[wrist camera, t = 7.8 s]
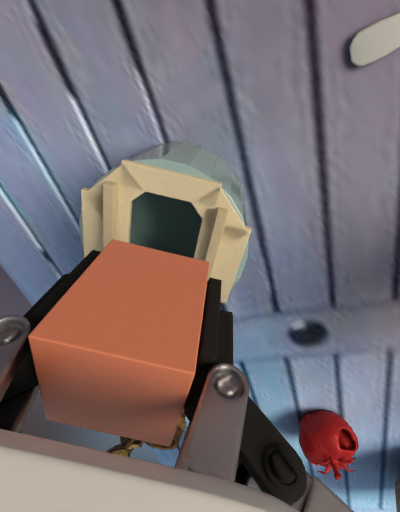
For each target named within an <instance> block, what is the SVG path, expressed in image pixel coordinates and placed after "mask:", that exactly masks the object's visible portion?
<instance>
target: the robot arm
mask: <svg viewBox="0 0 400 512" xmlns="http://www.w3.org/2000/svg"><path fill="white" fill-rule="evenodd" d="M100 253H101V251H97V250H92V251H91V252H90V253H89V254H88V255H87V256H86V257H85V258H84V259H83V260H82V261H81V262H80V263H79V264H78V265H77V266H76V267H75V269H74V270H73V271H72V272H71V273H70V274H65V275H63V276H62V277H61V278H60V279H59V280H58V281H57V282H56V283H55V284H54V285H53V286H52V287H51V288H50V289H49V290H48V291H47V292H46V293H45V294H44V295H43V296H42V298H41V299H40V300H39V301H38V302H37V303H36V304H35V305H34V306H33V307H32V308H31V309H30V310H29V311H28V312H27V313H26V314H25V315H24V316H23V317H22V316H17V315H9V316H4V317H0V512H354V511H353V510H352V509H350V508H349V507H348V506H347V505H346V504H345V503H344V502H343V501H342V500H341V499H340V498H339V497H338V496H337V495H335V494H334V493H333V492H332V491H331V490H330V489H329V488H328V487H327V486H326V485H325V484H324V483H323V482H321V481H320V480H319V479H318V478H317V477H315V478H312V477H311V476H310V475H309V474H308V473H307V472H306V470H305V467H304V465H303V463H302V460H301V458H300V457H299V456H298V454H297V453H296V451H295V450H294V449H293V448H292V447H291V445H290V444H289V443H288V442H287V441H286V440H285V438H284V437H283V436H282V435H281V434H280V432H279V431H278V430H277V429H276V428H275V427H274V425H273V424H272V423H271V422H270V421H269V420H268V418H267V417H266V416H265V415H264V414H263V413H262V411H261V410H260V409H259V408H258V407H257V405H256V404H255V403H254V402H253V401H252V400H251V398H250V397H249V396H248V395H249V384H248V381H247V378H246V377H245V375H244V374H243V372H241V371H240V370H239V369H238V368H237V367H235V366H233V314H232V312H228V311H224V310H220V303H221V284H222V280H219V279H215V278H211V277H210V278H209V280H207V288H206V295H205V303H204V311H203V318H202V326H201V333H200V341H199V348H198V356H197V363H196V371H195V376H194V379H193V381H192V384H191V387H190V390H189V393H188V396H187V399H186V402H185V405H184V414H185V415H186V417H187V418H188V420H189V421H190V423H189V425H188V428H187V431H186V434H185V437H184V440H183V443H182V446H181V449H180V452H179V455H178V458H177V461H176V464H175V467H170V466H165V465H161V464H156V463H152V462H147V461H143V460H139V459H134V458H130V457H126V456H121V455H117V454H112V453H108V452H103V451H99V450H94V449H90V448H85V447H80V446H76V445H71V444H67V443H62V442H58V441H53V440H49V439H44V438H40V437H35V436H31V435H26V434H21V431H22V429H23V426H24V424H25V422H26V420H27V417H28V415H29V413H30V410H31V408H32V406H33V403H34V401H35V399H36V396H37V394H38V392H39V389H40V388H39V384H38V379H37V375H36V370H35V366H34V361H33V357H32V352H31V348H30V343H29V339H28V336H29V334H30V333H31V332H32V331H33V330H34V328H35V327H36V326H37V325H38V324H39V323H40V322H41V320H42V319H43V318H44V317H45V316H46V315H47V314H48V312H49V311H50V310H51V309H52V308H53V307H54V306H55V304H56V303H57V302H58V301H59V300H60V299H61V298H62V296H63V295H64V294H65V293H66V292H67V291H68V290H69V288H70V287H71V286H72V285H73V284H74V283H75V282H76V280H77V279H78V278H79V277H80V276H81V275H82V274H83V272H84V271H85V270H86V269H87V268H88V267H89V266H90V264H91V263H92V262H93V261H94V260H95V259H96V258H97V256H98V255H99V254H100Z"/></svg>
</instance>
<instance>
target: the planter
mask: <svg viewBox="0 0 400 512" xmlns="http://www.w3.org/2000/svg"><path fill="white" fill-rule="evenodd" d="M395 495H396V508H397V512H400V475H399V477H398V479H397V480H396V482H395Z"/></svg>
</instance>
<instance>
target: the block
mask: <svg viewBox="0 0 400 512" xmlns="http://www.w3.org/2000/svg"><path fill="white" fill-rule="evenodd" d="M209 265H210V263H209V262H206V261H202V260H198V259H194V258H190V257H185V256H181V255H177V254H173V253H169V252H164V251H160V250H156V249H152V248H148V247H144V246H139V245H135V244H131V243H127V242H123V241H118V240H114V239H113V240H111V242H110V243H109V244H108V245H107V246H106V247H105V248H104V250H103V251H102V252H101V253H100V254H99V255H98V256H97V258H96V259H95V260H94V261H93V262H92V263H91V264H90V266H89V267H88V268H87V269H86V270H85V271H84V272H83V274H82V275H81V276H80V277H79V278H78V279H77V280H76V282H75V283H74V284H73V285H72V286H71V287H70V288H69V290H68V291H67V292H66V293H65V294H64V295H63V296H62V298H61V299H60V300H59V301H58V302H57V303H56V304H55V306H54V307H53V308H52V309H51V310H50V311H49V312H48V314H47V315H46V316H45V317H44V318H43V319H42V320H41V322H40V323H39V324H38V325H37V326H36V327H35V328H34V330H33V331H32V332H31V333H30V334H29V336H28V339H29V343H30V348H31V352H32V357H33V361H34V366H35V370H36V375H37V379H38V384H39V388H40V393H41V397H42V401H43V406H44V410H45V415H46V419H47V420H50V421H55V422H60V423H64V424H68V425H73V426H78V427H82V428H86V429H91V430H95V431H100V432H105V433H109V434H113V435H118V436H123V437H127V438H132V439H136V440H141V441H145V442H150V443H154V444H159V445H163V446H168V447H170V446H171V443H172V440H173V437H174V434H175V431H176V428H177V425H178V423H179V420H180V417H181V414H182V411H183V408H184V405H185V402H186V399H187V396H188V393H189V390H190V387H191V384H192V381H193V379H194V376H195V371H196V363H197V356H198V348H199V341H200V333H201V326H202V318H203V311H204V303H205V295H206V288H207V280H208V273H209Z"/></svg>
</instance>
